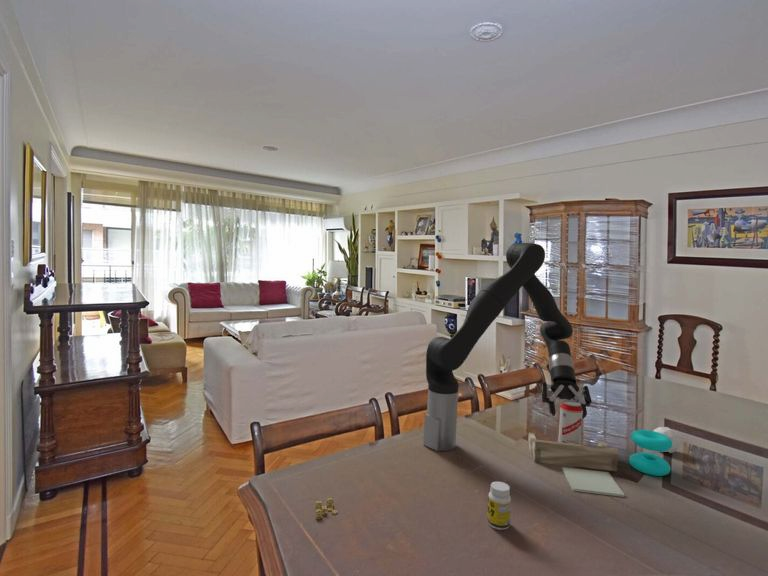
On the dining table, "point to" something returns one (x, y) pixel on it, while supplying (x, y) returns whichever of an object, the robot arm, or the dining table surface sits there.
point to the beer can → (570, 422)
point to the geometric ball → (671, 435)
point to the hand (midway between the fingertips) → (568, 416)
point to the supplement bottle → (499, 506)
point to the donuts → (646, 460)
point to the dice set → (324, 508)
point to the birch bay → (574, 454)
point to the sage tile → (592, 482)
